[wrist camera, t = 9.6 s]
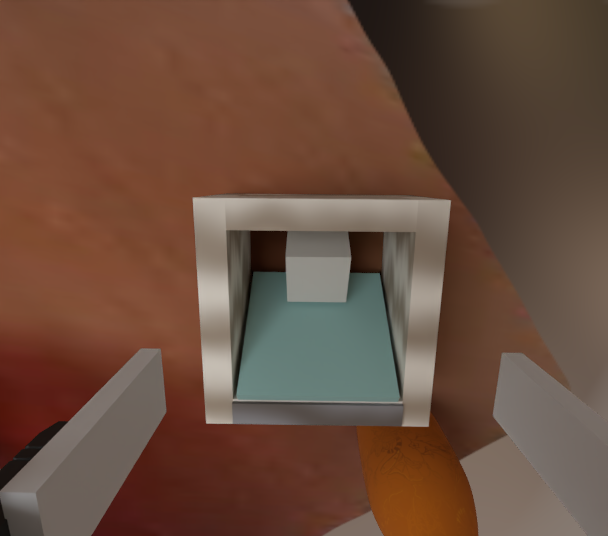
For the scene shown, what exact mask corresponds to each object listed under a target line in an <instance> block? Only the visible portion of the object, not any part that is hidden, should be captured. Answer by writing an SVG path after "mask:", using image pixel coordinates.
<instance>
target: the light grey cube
mask: <svg viewBox="0 0 608 536" xmlns="http://www.w3.org/2000/svg"><path fill="white" fill-rule="evenodd" d="M350 264H351V251H350V243H349V236H348V231H288V232H287V245H286V281H287V302H346V299H347V290H348V282H349V273H350Z"/></svg>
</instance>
